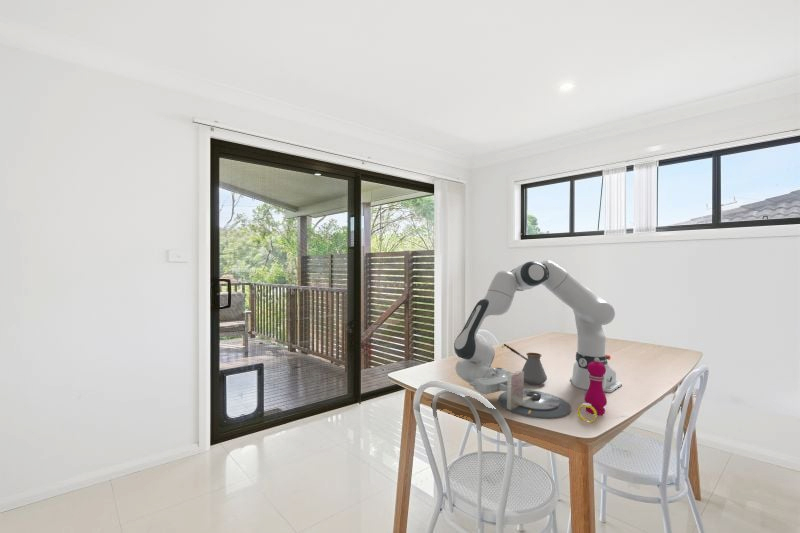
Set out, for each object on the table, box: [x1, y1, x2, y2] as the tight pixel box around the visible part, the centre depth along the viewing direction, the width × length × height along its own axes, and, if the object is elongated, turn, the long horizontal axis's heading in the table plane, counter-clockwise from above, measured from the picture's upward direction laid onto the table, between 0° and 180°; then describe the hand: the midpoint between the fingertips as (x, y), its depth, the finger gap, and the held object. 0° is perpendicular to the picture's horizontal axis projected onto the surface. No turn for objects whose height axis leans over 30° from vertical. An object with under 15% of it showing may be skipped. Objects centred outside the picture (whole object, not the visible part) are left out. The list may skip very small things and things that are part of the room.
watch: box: [577, 402, 598, 423], centre depth 131 cm, size 6×3×6 cm, turn 46°
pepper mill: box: [584, 358, 608, 416], centre depth 139 cm, size 7×7×20 cm
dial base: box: [498, 391, 572, 420], centre depth 145 cm, size 26×26×1 cm
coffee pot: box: [501, 343, 548, 386], centre depth 174 cm, size 21×12×15 cm, turn 45°
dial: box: [506, 370, 559, 411], centre depth 142 cm, size 26×18×13 cm
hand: (514, 389), depth 138 cm, fingers closed
